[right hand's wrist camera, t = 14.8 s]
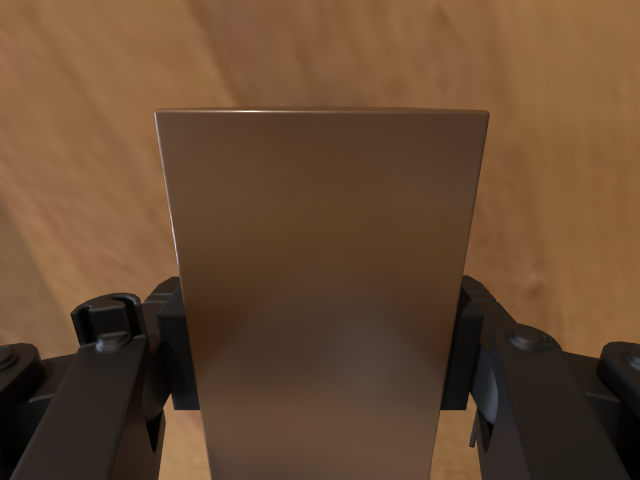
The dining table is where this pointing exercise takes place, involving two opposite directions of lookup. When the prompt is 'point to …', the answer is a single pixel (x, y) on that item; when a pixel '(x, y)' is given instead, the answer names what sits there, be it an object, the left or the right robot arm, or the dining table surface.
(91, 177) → the dining table surface
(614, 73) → the dining table surface
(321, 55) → the dining table surface
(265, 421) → the post
